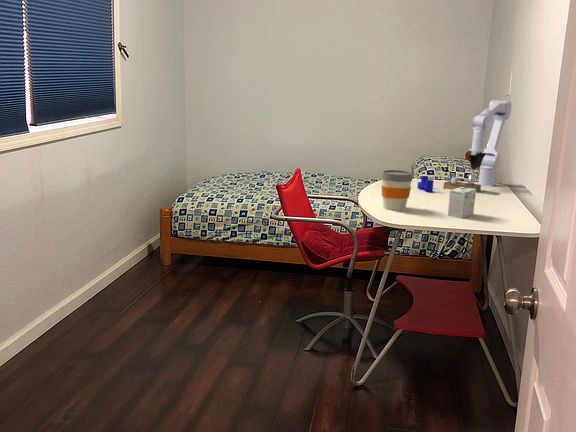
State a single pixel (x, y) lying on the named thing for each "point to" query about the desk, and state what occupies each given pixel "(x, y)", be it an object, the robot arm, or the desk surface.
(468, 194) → the light bulb box
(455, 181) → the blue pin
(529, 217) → the desk surface
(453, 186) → the walnut hole block
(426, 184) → the blue stepped block
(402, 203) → the reusable coffee cup
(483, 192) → the rubber mat
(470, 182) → the steel pin
